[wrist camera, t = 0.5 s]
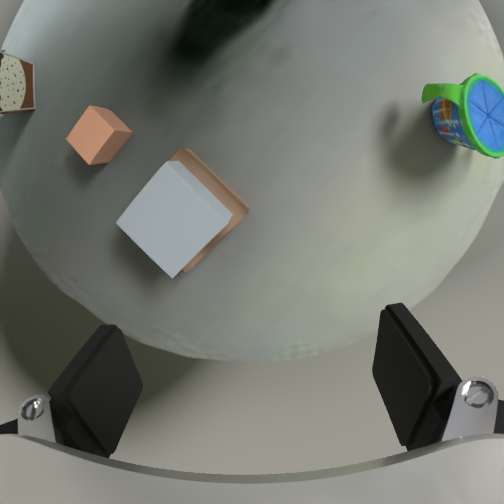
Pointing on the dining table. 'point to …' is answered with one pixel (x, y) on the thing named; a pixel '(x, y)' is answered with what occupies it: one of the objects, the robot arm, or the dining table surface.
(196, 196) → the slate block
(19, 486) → the robot arm
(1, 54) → the food container
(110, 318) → the dining table surface
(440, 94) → the snack cup
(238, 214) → the walnut slab
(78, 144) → the terracotta cube
